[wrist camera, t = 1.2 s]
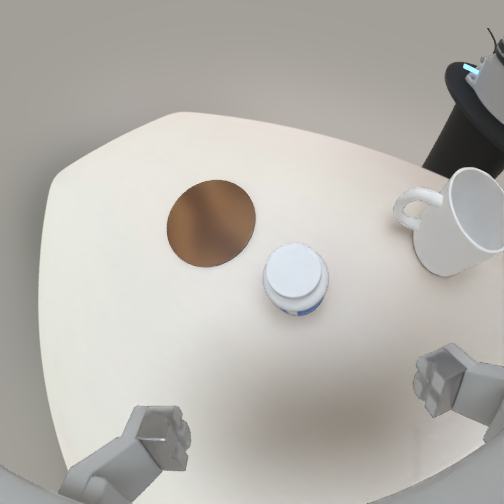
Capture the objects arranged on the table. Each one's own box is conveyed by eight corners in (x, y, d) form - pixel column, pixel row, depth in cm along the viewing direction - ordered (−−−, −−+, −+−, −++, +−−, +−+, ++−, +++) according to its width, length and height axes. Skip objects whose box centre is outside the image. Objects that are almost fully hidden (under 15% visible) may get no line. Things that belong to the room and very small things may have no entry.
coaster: (208, 167, 35) (207, 166, 34) (275, 211, 31) (274, 210, 31) (152, 231, 34) (150, 230, 33) (212, 286, 30) (211, 286, 30)
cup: (462, 286, 25) (514, 265, 15) (375, 256, 28) (406, 220, 18) (468, 223, 26) (511, 186, 17) (388, 192, 30) (413, 140, 20)
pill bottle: (326, 267, 29) (336, 236, 19) (320, 318, 27) (329, 312, 18) (275, 262, 30) (262, 230, 21) (268, 312, 28) (251, 302, 19)
